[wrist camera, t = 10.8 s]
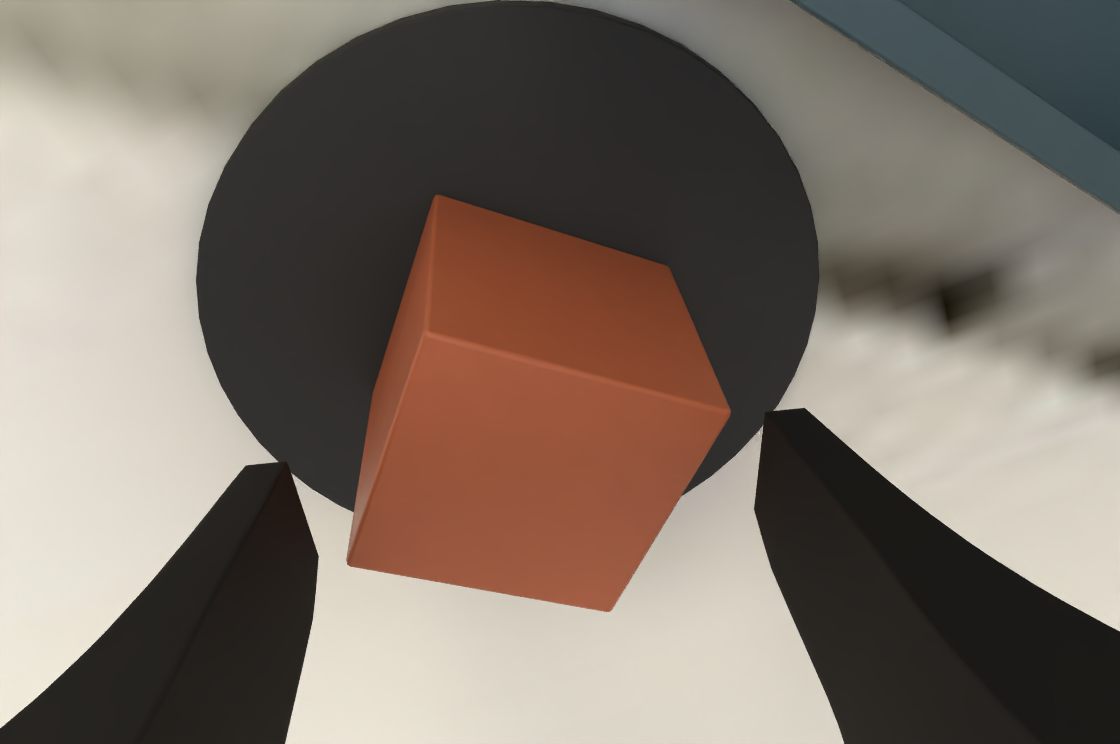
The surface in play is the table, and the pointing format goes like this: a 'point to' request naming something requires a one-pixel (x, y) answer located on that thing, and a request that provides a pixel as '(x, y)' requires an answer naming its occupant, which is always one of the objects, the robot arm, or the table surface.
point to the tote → (1009, 71)
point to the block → (530, 413)
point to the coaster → (493, 209)
